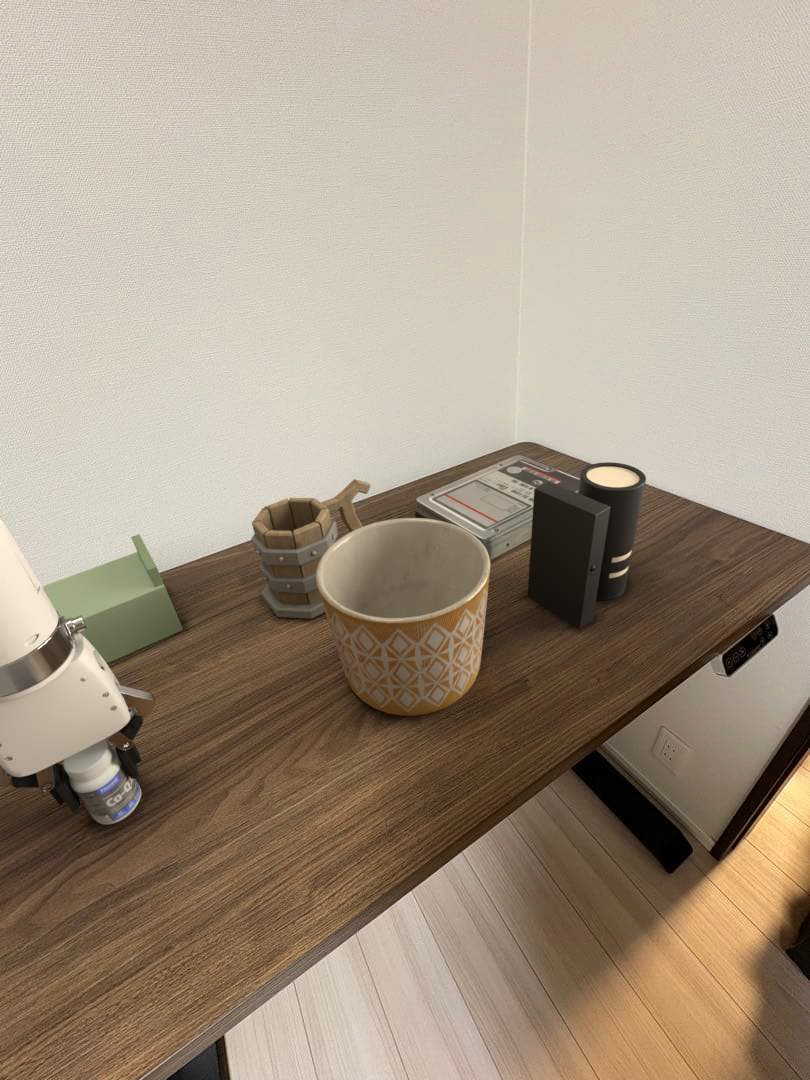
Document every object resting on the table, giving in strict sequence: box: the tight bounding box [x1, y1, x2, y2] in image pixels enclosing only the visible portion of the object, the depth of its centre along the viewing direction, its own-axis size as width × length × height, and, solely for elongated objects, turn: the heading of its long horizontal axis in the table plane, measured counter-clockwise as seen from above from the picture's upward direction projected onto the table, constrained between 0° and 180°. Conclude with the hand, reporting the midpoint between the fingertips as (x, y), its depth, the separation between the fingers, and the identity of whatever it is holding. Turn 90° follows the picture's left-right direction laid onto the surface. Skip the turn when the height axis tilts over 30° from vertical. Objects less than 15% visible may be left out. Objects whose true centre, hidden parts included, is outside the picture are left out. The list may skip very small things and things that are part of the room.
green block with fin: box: [43, 534, 184, 664], centre depth 75 cm, size 14×12×11 cm
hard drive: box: [414, 454, 580, 561], centre depth 96 cm, size 18×27×4 cm
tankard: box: [250, 478, 372, 620], centre depth 80 cm, size 20×13×15 cm, turn 126°
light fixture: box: [526, 461, 647, 630], centre depth 72 cm, size 10×14×18 cm
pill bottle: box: [62, 739, 142, 825], centre depth 53 cm, size 5×5×8 cm
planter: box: [316, 517, 491, 717], centre depth 63 cm, size 19×19×16 cm
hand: (104, 782), depth 53 cm, fingers closed on pill bottle, 4 cm apart
